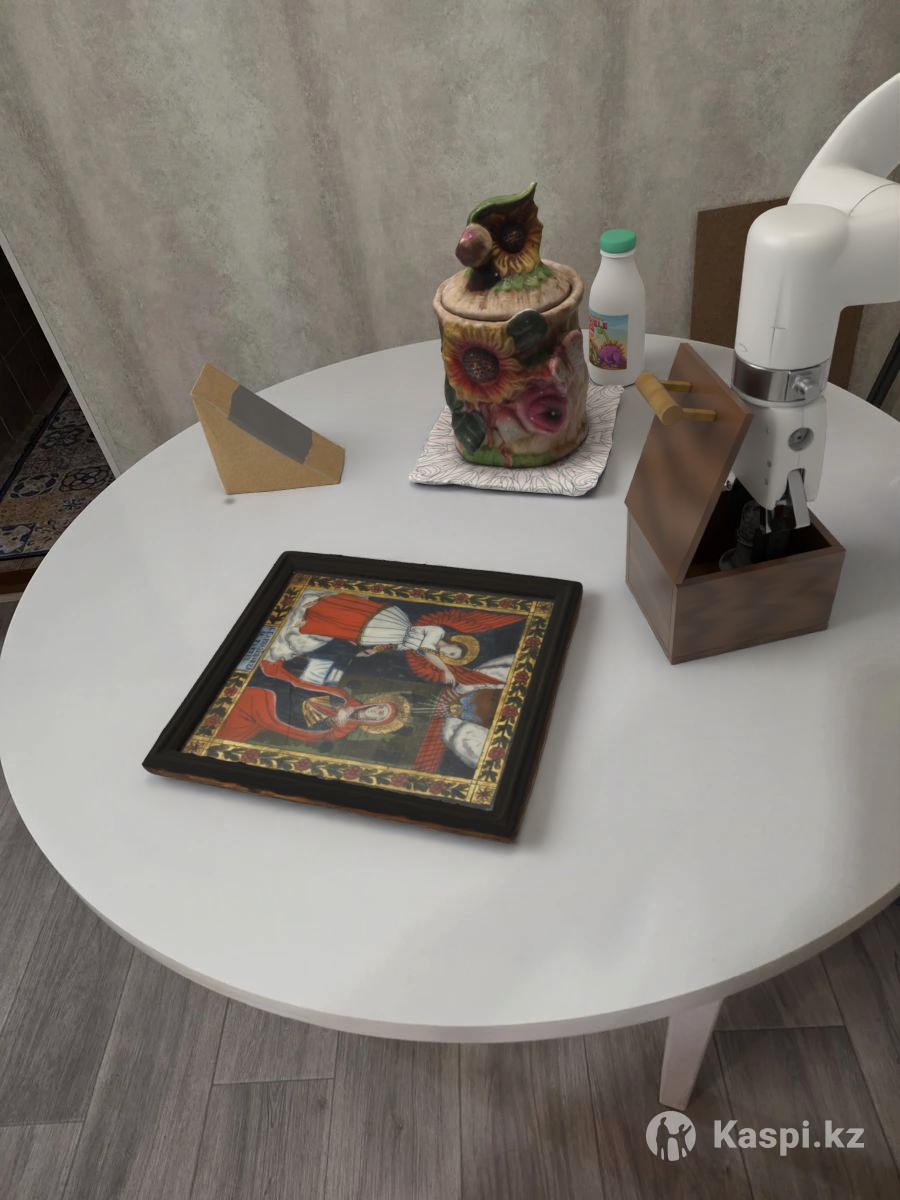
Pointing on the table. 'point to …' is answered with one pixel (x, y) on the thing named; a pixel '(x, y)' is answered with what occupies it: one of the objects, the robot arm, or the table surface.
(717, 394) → the bin lid
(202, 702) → the framed painting
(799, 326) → the robot arm
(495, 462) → the cookie jar
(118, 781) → the table surface
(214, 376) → the sandwich container
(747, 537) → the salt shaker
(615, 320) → the milk bottle
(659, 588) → the bin
